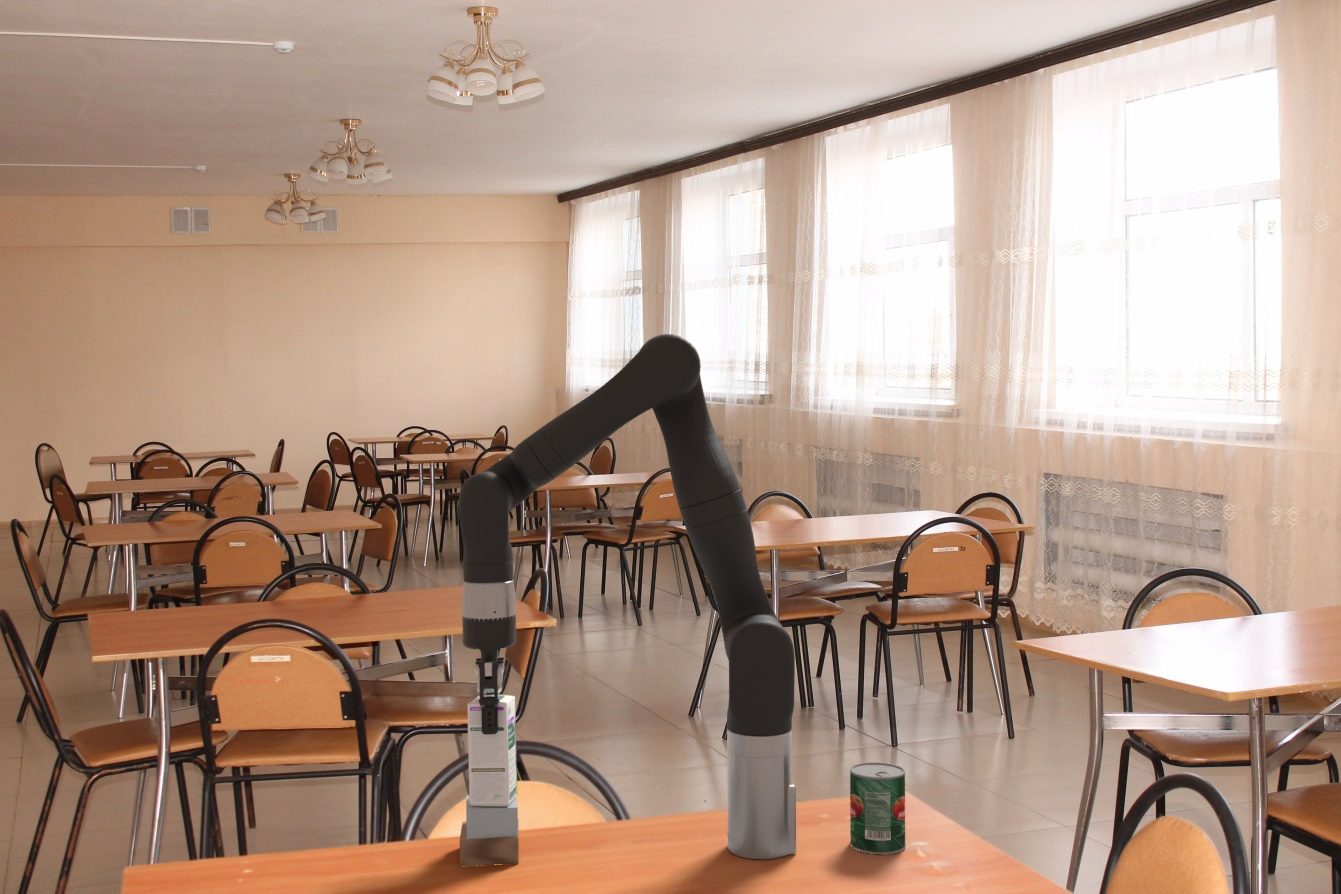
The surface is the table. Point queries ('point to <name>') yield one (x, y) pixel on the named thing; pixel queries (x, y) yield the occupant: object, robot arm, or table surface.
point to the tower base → (488, 850)
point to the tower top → (491, 820)
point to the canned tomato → (877, 808)
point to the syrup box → (492, 755)
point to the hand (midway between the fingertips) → (490, 726)
